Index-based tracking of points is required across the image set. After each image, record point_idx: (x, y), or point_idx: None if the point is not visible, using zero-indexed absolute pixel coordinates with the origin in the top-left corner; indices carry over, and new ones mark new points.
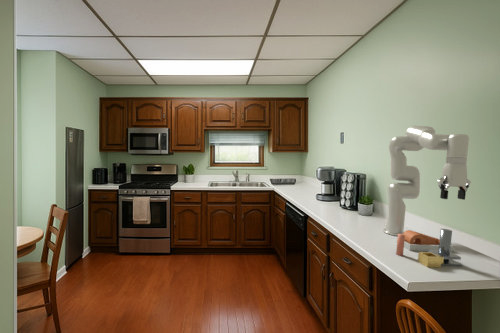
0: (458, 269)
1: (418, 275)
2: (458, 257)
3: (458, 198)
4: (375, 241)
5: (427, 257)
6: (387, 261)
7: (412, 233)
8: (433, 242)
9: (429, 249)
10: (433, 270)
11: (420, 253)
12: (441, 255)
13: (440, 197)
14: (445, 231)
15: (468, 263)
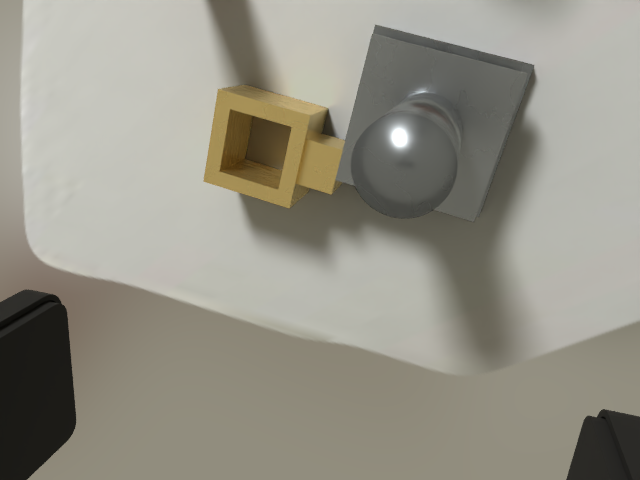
0: (396, 240)
1: (107, 229)
2: (455, 215)
3: (593, 427)
4: None
5: (205, 176)
6: (60, 43)
7: None
8: None
9: (378, 40)
10: (231, 209)
11: (216, 108)
12: (350, 164)
13: (24, 294)
14: (357, 188)
15: (589, 194)
